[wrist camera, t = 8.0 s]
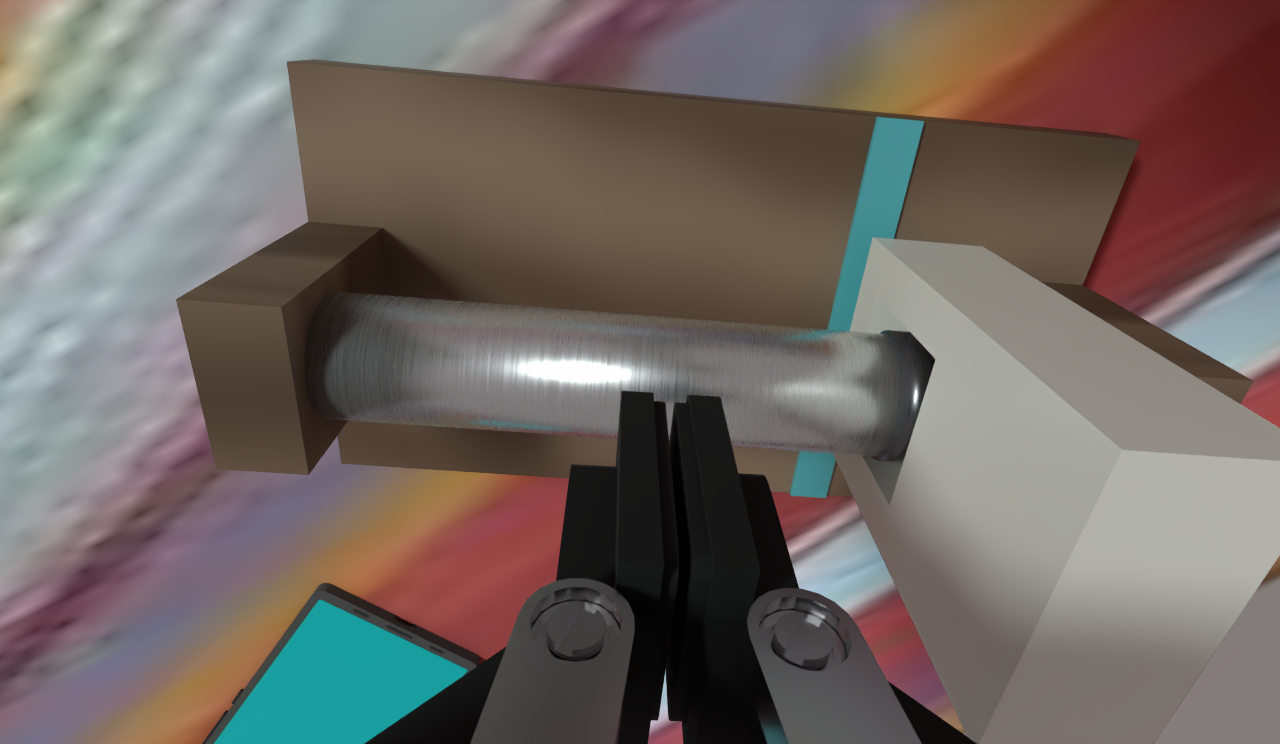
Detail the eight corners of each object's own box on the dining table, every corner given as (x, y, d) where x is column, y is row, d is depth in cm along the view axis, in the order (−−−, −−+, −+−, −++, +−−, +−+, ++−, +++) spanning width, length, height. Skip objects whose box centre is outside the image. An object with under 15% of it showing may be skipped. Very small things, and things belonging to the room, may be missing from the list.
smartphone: (480, 666, 28) (322, 836, 33) (484, 649, 29) (329, 818, 34) (315, 587, 26) (176, 781, 31) (324, 571, 27) (187, 763, 32)
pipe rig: (312, 59, 18) (122, 75, 11) (1104, 133, 19) (1361, 188, 12) (358, 438, 23) (248, 602, 17) (974, 479, 24) (1102, 648, 18)
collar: (872, 236, 18) (1122, 450, 9) (982, 246, 18) (1339, 465, 9) (823, 434, 21) (974, 752, 12) (919, 441, 21) (1142, 760, 12)
